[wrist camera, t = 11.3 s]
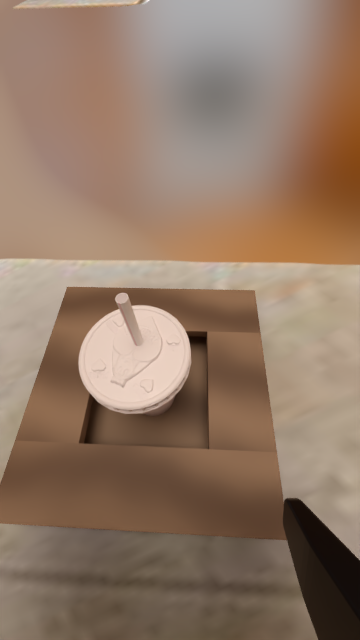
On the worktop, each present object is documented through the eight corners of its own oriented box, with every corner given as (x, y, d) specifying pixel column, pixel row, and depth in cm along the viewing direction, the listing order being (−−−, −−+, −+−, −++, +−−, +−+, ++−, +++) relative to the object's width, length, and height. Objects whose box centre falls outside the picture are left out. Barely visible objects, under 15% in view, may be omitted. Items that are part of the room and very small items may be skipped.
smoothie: (199, 374, 23) (213, 272, 11) (173, 446, 20) (155, 415, 8) (137, 351, 24) (89, 239, 12) (104, 416, 21) (-1, 351, 9)
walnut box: (269, 526, 18) (288, 540, 14) (24, 512, 19) (-13, 522, 15) (245, 312, 27) (254, 290, 24) (82, 309, 28) (67, 286, 24)
